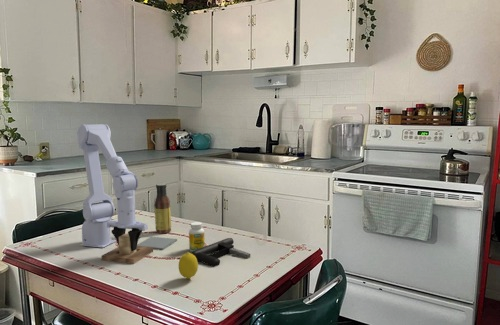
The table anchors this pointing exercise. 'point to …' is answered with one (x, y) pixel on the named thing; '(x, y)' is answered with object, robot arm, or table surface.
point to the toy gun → (222, 248)
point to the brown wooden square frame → (132, 259)
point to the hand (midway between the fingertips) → (127, 249)
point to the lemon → (188, 265)
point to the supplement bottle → (196, 236)
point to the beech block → (125, 245)
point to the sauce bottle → (162, 210)
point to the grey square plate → (157, 242)
